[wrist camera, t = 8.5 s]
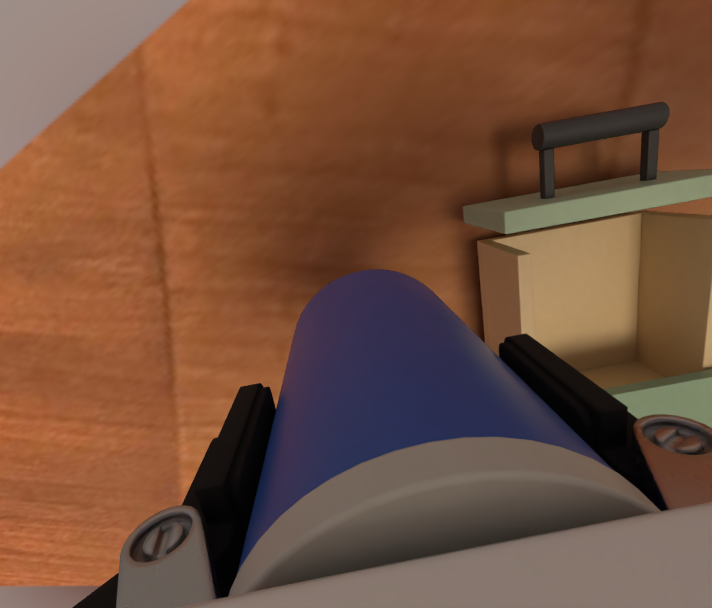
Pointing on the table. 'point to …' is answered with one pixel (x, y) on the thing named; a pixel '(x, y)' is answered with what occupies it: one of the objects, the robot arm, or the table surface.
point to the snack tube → (409, 444)
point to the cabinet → (670, 396)
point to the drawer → (603, 260)
